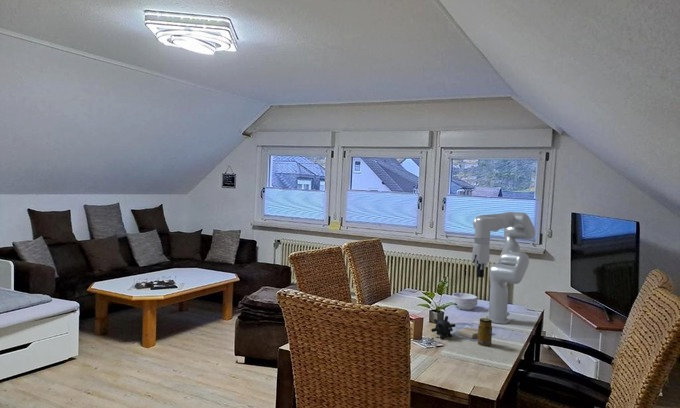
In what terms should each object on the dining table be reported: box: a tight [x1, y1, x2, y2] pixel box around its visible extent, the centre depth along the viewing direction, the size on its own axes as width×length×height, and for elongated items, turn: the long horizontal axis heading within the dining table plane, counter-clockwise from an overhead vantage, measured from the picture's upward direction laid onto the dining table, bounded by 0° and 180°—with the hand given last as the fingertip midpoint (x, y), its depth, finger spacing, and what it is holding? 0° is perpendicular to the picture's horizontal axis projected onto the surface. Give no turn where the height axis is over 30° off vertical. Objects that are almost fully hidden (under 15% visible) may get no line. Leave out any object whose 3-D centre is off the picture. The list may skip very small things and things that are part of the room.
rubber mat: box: [450, 326, 497, 343], centre depth 227 cm, size 20×14×1 cm
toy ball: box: [431, 315, 457, 340], centre depth 221 cm, size 11×11×12 cm
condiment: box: [477, 317, 493, 347], centre depth 211 cm, size 7×8×12 cm
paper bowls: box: [451, 292, 478, 311], centre depth 281 cm, size 15×15×8 cm
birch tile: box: [457, 326, 478, 338], centre depth 225 cm, size 2×8×10 cm
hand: (480, 276), depth 236 cm, fingers closed
